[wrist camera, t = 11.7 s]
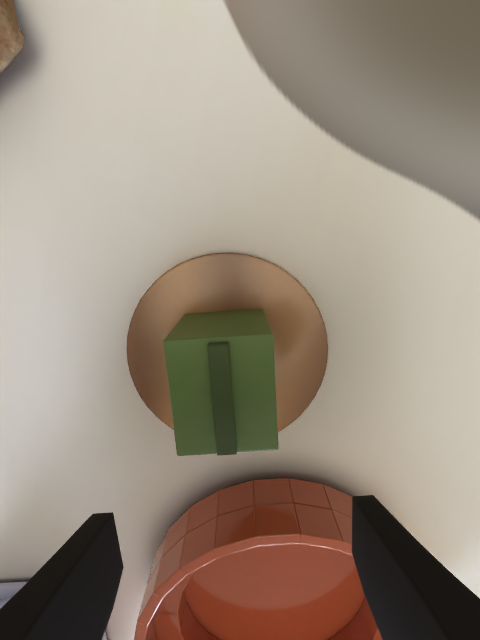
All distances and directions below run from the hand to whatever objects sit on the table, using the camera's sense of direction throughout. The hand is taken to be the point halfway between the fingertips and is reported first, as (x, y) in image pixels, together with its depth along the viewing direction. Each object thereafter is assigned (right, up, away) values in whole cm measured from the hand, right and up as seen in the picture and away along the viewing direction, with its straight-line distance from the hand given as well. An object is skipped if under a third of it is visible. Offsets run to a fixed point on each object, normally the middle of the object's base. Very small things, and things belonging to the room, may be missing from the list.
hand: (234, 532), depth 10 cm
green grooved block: (0, +4, +8) cm, 9 cm away
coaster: (0, +5, +9) cm, 10 cm away
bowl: (+3, -11, +12) cm, 17 cm away
